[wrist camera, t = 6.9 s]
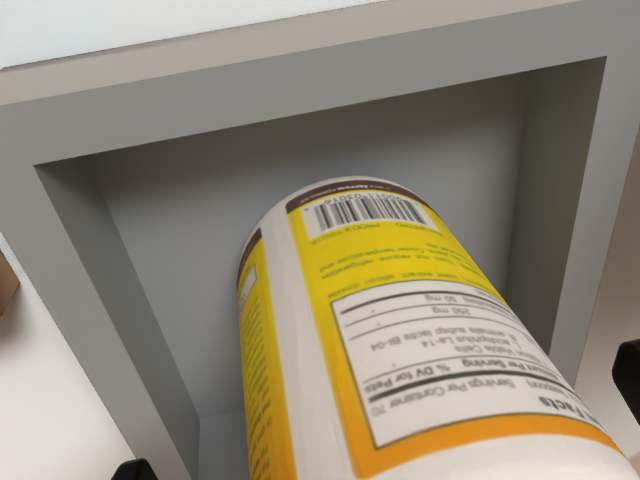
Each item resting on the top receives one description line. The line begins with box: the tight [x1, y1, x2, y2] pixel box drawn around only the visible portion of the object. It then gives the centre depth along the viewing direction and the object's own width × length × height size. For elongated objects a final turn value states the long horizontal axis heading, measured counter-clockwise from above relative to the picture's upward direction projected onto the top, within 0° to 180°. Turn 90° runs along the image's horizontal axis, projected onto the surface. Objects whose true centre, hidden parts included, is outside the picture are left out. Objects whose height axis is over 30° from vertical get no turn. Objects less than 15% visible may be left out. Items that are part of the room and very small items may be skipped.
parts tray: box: [0, 0, 640, 480], centre depth 12 cm, size 12×12×3 cm
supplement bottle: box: [237, 176, 640, 480], centre depth 9 cm, size 6×6×10 cm
